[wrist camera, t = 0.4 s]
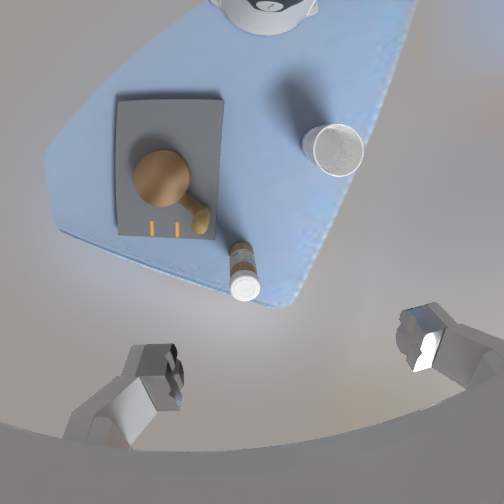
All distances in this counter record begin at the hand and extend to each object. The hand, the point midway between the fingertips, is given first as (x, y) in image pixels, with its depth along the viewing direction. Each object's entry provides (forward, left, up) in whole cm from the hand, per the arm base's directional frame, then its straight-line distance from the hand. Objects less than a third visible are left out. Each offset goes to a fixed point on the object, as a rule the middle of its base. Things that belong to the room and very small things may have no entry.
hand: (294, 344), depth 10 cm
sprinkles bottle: (+16, +1, -44) cm, 47 cm away
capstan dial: (+4, -11, -41) cm, 43 cm away
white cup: (-5, +13, -44) cm, 46 cm away
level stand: (+1, -13, -44) cm, 46 cm away
